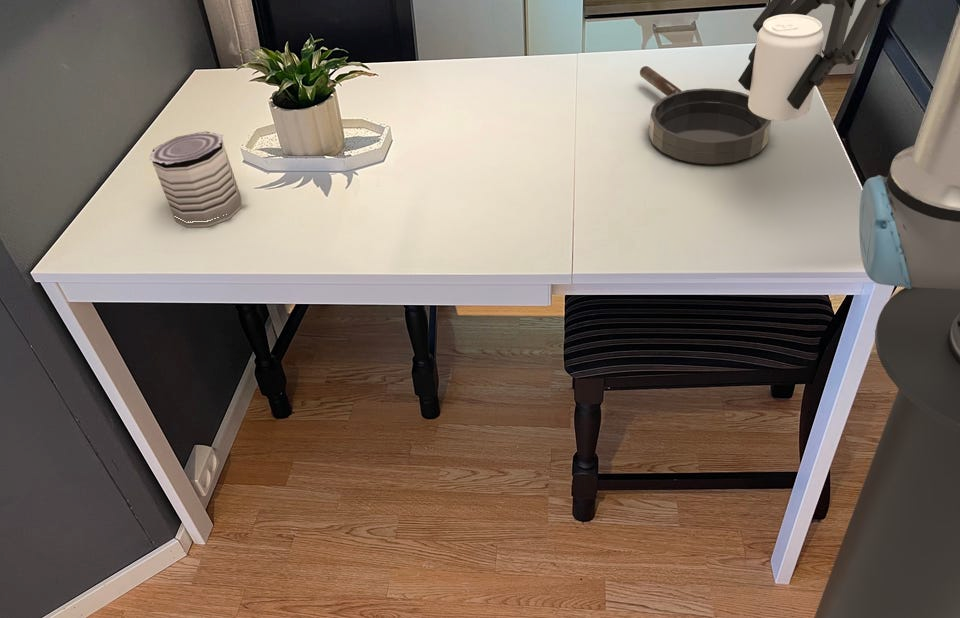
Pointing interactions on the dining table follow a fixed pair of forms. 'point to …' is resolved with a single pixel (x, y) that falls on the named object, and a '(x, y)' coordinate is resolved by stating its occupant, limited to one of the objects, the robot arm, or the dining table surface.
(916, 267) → the robot arm
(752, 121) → the pan
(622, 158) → the dining table surface
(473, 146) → the dining table surface
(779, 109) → the beverage can
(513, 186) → the dining table surface
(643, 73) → the pan handle
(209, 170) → the can
